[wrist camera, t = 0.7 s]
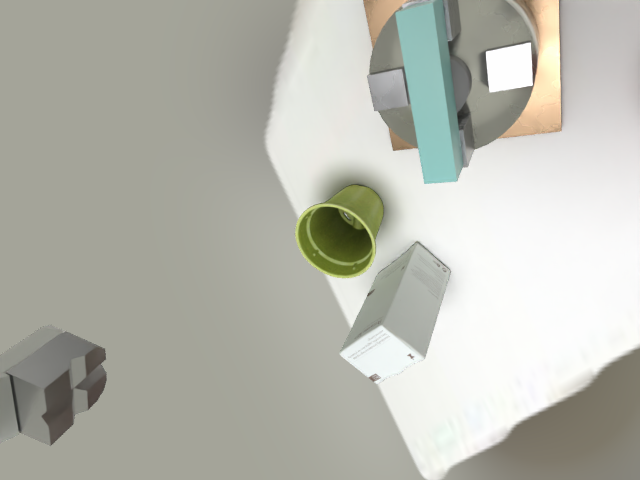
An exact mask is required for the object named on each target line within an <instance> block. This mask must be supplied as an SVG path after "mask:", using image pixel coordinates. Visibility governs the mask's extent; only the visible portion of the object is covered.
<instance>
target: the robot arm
mask: <svg viewBox="0 0 640 480" xmlns="http://www.w3.org/2000/svg"><path fill="white" fill-rule="evenodd" d="M104 360H106V353H105V349H104V348H102V347H100V346H98V345H96V344H93V343H91V342H89V341H87V340H85V339H82V338H80V337H78V336H75V335H73V334H71V333H69V332H66V331H64V330H62V329H59V328H57V327H55V326H52V325H48V326H43V327H41V328H40V329H38V330H37V331H36V332H34V333H32V334H31V335H29V336H28V337H26V338H25V339H23V340H22V341H20V342H19V343H17V344H16V345H14V346H13V347H11V348H10V349H8V350H7V351H5V352H4V353H2V354H1V355H0V443H2V442H4V441H6V440H8V439H11V438H13V437H15V436H17V435H19V432H20V433H22V434H24V435H27V436H29V437H31V438H34V439H36V440H38V441H41V442H43V443H45V444H48V445H50V446H51V445H52V444H53V443H54V442H55V441H56V440H57V439H58V438H60V437H61V436H62V435H63V433H65V432H66V431H67V430H68V429H69V428H70V427H71V426H72V425H73V424H74V419H75V414H78V413H81V412H84V411H87V410H89V409H90V407H92V406H93V404H95V403H96V402H97V400H98V399H99V397H100V395H101V394H102V392H103V390H104V388H105V384H106V380H107V378H106V371H105V370H104V368H103V366H102V365H101V363H102V362H103V361H104Z"/></svg>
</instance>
